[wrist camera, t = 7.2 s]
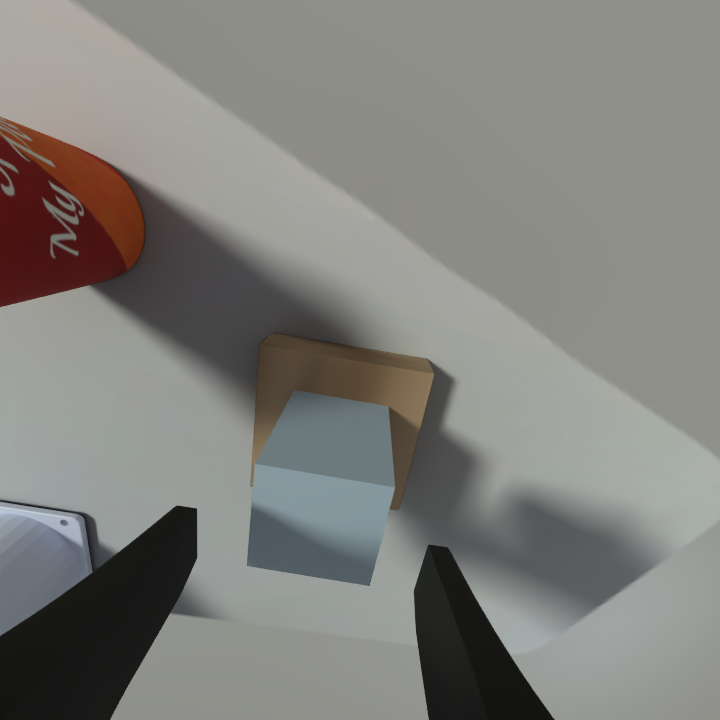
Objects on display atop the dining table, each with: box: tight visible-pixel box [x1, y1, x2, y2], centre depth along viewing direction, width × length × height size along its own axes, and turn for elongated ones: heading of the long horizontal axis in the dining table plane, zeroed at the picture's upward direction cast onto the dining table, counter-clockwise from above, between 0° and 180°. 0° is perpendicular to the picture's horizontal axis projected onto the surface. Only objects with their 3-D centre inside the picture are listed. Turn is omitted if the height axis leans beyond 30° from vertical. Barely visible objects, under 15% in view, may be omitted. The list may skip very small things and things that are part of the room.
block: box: [247, 390, 395, 586], centre depth 14 cm, size 4×4×6 cm
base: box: [250, 333, 434, 510], centre depth 17 cm, size 8×8×2 cm
